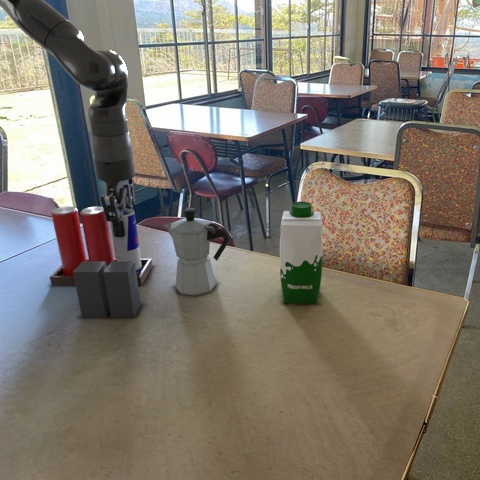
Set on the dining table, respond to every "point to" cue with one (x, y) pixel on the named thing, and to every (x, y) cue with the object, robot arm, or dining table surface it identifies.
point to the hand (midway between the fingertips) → (124, 231)
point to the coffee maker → (195, 252)
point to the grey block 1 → (91, 288)
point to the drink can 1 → (69, 238)
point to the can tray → (62, 280)
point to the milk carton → (301, 254)
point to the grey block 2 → (122, 288)
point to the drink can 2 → (97, 234)
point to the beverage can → (128, 241)
